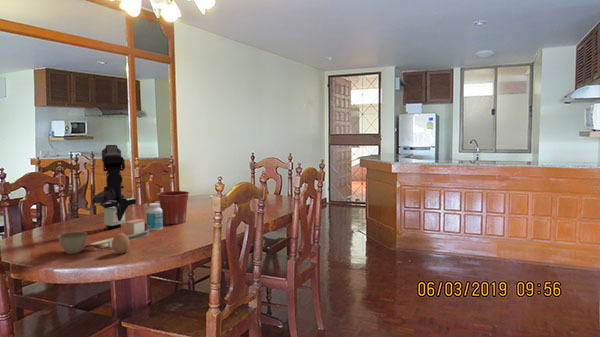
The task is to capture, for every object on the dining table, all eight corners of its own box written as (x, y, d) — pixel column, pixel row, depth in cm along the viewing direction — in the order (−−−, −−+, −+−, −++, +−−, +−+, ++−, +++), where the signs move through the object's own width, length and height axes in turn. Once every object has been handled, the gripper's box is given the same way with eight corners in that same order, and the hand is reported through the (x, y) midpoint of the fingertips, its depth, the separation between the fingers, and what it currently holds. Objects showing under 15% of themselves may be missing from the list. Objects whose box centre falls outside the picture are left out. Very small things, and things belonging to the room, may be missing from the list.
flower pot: (184, 225, 208) (183, 195, 207) (153, 225, 208) (152, 195, 207) (193, 219, 224) (193, 191, 223) (164, 219, 225) (163, 190, 224)
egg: (132, 251, 161) (132, 231, 161) (126, 255, 155) (125, 235, 154) (116, 251, 161) (115, 231, 161) (109, 255, 155) (108, 235, 154)
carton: (125, 237, 179) (125, 221, 178) (137, 233, 185) (137, 219, 185) (133, 238, 177) (133, 222, 177) (145, 234, 184) (144, 219, 183)
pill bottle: (157, 233, 192) (156, 205, 191) (143, 232, 193) (142, 204, 192) (165, 229, 199) (165, 202, 198) (152, 229, 200) (151, 202, 199)
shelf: (89, 246, 168) (88, 238, 167) (129, 235, 188) (129, 227, 188) (110, 249, 163) (110, 241, 163) (150, 237, 183) (149, 230, 183)
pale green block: (104, 224, 168) (103, 208, 168) (117, 221, 175) (117, 205, 174) (112, 225, 166) (112, 209, 166) (125, 222, 173) (125, 206, 172)
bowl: (66, 248, 164) (66, 231, 164) (92, 248, 165) (91, 231, 165) (54, 256, 154) (53, 237, 154) (80, 255, 155) (80, 237, 155)
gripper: (81, 184, 165) (82, 222, 167) (114, 187, 158) (116, 226, 159) (103, 182, 176) (105, 217, 177) (136, 184, 168) (137, 220, 170)
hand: (115, 220), depth 170 cm, fingers closed on pale green block, 5 cm apart
